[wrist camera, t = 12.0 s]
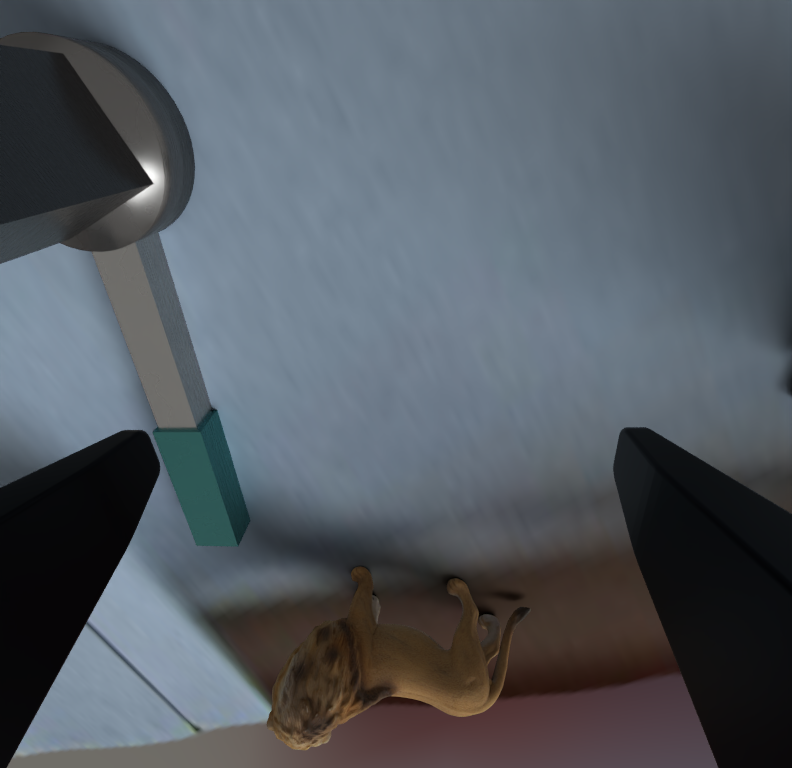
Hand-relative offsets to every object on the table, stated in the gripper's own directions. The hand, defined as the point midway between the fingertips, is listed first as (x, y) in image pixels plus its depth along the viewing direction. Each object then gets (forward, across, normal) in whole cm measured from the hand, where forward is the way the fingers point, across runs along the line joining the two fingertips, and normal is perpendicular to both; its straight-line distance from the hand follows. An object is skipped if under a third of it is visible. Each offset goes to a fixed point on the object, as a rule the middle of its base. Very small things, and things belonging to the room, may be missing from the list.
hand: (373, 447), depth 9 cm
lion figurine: (+13, +2, +22) cm, 26 cm away
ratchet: (+13, +12, +3) cm, 18 cm away
